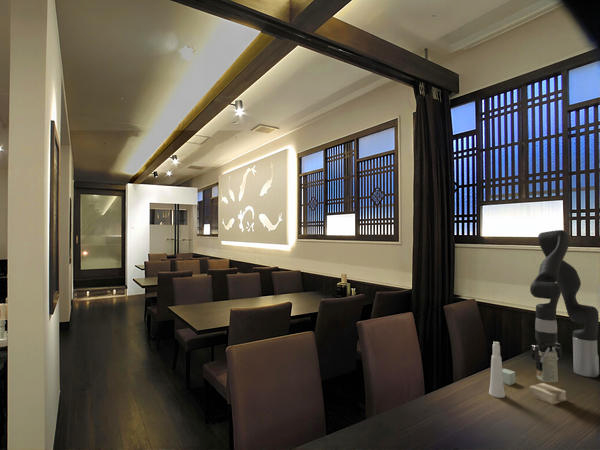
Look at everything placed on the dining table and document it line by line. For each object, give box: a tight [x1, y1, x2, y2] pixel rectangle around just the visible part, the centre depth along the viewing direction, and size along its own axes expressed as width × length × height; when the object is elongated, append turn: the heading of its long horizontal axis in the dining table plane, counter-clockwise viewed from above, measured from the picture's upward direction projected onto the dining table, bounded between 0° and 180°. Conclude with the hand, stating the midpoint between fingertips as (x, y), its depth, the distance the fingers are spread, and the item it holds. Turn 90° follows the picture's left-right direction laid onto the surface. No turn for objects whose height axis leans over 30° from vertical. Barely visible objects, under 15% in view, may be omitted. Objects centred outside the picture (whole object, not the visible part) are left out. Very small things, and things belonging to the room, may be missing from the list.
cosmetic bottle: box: [488, 341, 506, 399], centre depth 149 cm, size 6×6×22 cm
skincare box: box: [536, 351, 559, 383], centre depth 146 cm, size 6×4×12 cm
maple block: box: [528, 382, 567, 406], centre depth 146 cm, size 9×9×4 cm
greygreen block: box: [502, 368, 517, 386], centre depth 161 cm, size 5×5×5 cm
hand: (546, 369), depth 146 cm, fingers closed on skincare box, 7 cm apart
